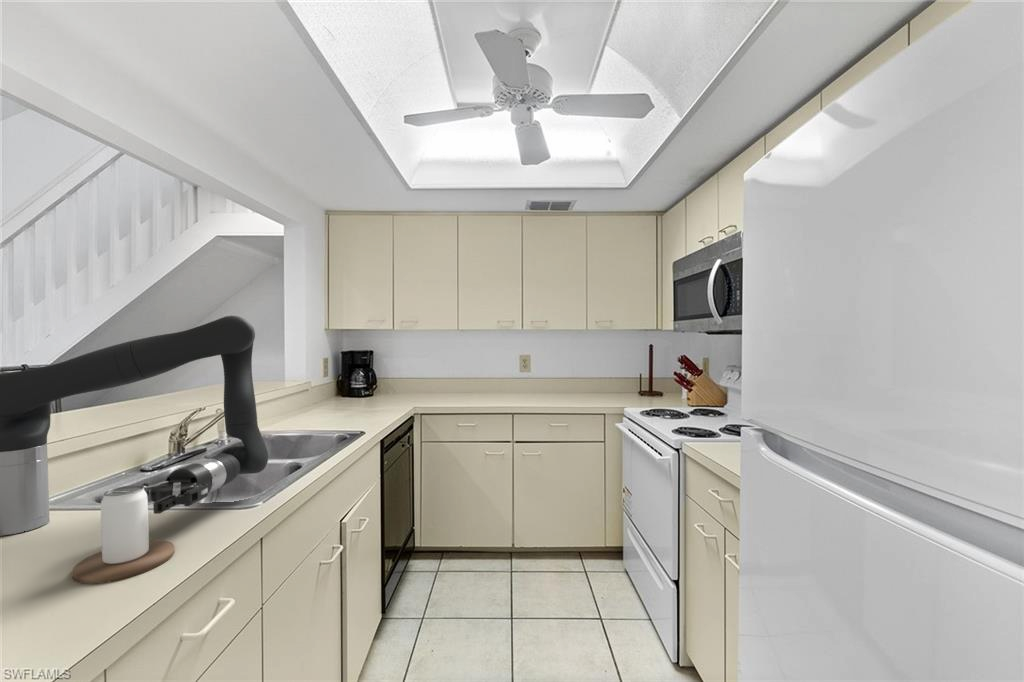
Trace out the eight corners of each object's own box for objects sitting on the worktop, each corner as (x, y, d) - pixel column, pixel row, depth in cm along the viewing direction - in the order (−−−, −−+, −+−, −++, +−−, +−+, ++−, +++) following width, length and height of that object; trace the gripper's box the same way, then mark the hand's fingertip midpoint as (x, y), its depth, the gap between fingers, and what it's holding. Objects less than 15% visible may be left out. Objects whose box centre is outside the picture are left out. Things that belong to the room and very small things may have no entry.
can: (121, 567, 80) (119, 497, 80) (92, 563, 82) (90, 494, 82) (158, 550, 87) (156, 485, 86) (130, 546, 88) (128, 483, 88)
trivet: (50, 578, 79) (50, 572, 79) (134, 542, 92) (134, 537, 92) (116, 587, 76) (116, 581, 76) (193, 548, 89) (192, 543, 89)
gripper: (165, 463, 102) (95, 487, 86) (228, 463, 101) (169, 488, 85) (166, 497, 102) (96, 528, 86) (229, 497, 102) (171, 529, 85)
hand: (133, 508), depth 86 cm, fingers open, 8 cm apart
